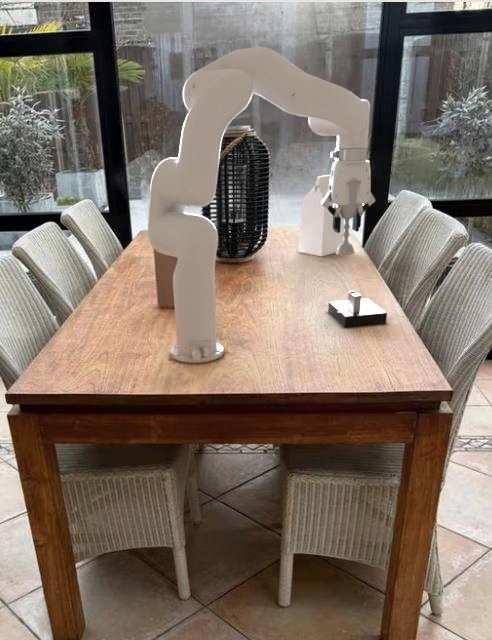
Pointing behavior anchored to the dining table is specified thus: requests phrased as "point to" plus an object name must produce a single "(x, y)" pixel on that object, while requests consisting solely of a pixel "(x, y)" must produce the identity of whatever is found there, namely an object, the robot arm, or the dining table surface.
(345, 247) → the chalice
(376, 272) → the dining table surface
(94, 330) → the dining table surface
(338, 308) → the black knob base
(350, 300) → the box with red tab
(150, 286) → the dining table surface
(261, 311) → the dining table surface
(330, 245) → the milk
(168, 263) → the block
